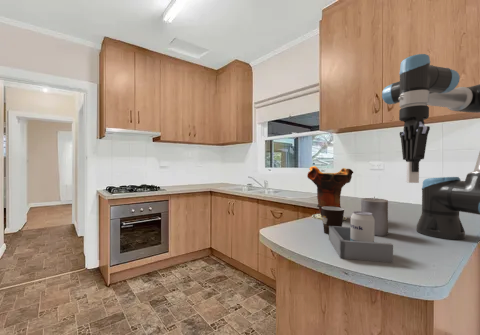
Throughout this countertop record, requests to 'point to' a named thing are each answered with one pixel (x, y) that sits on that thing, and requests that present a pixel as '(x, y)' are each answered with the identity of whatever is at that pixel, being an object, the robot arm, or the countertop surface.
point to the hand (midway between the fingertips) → (412, 182)
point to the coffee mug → (332, 217)
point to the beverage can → (362, 227)
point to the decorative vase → (329, 187)
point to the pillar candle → (377, 213)
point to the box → (358, 246)
